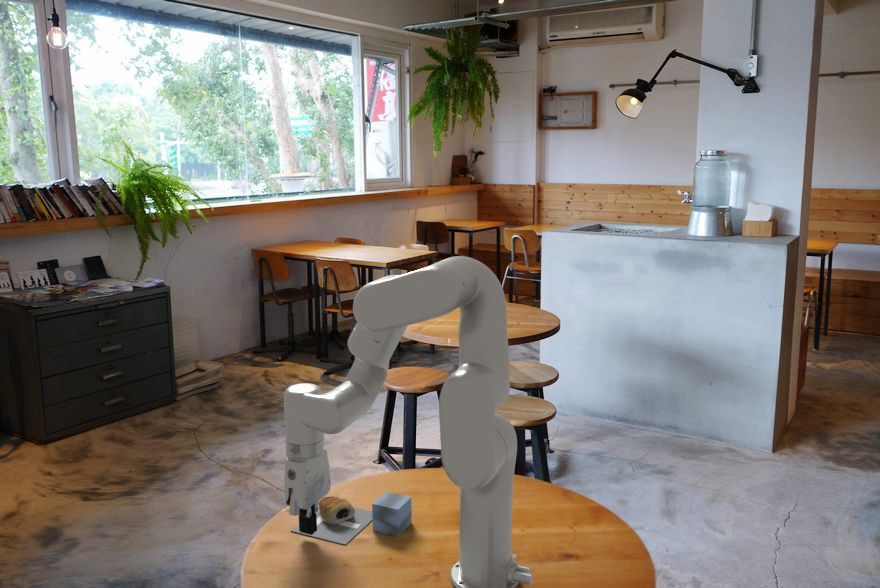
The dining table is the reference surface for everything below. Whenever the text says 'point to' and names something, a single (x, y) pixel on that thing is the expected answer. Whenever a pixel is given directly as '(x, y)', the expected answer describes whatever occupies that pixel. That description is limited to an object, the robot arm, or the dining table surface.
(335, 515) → the pastry
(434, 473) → the dining table surface
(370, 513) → the board
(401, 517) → the slate blue cube
